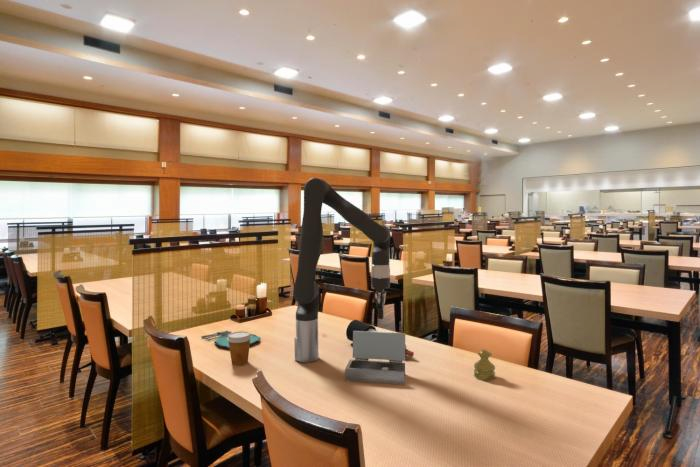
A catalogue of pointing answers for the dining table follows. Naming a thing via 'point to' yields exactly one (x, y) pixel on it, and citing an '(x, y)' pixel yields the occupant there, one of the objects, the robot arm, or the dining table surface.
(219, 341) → the cutlery set
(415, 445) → the dining table surface
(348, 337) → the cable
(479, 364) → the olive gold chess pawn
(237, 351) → the disposable coffee cup
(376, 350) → the cover
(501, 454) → the dining table surface
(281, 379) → the dining table surface
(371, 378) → the grey rectangular box
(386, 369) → the dark grey tape roll
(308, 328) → the robot arm
